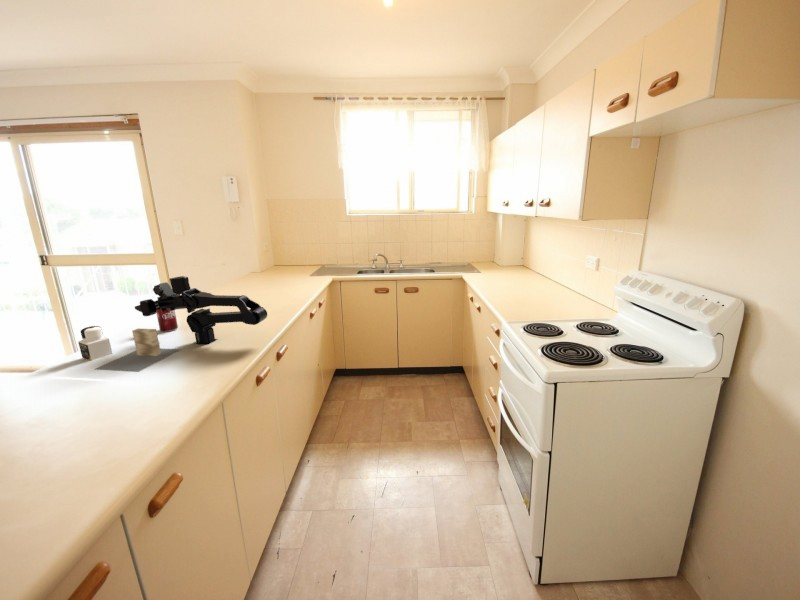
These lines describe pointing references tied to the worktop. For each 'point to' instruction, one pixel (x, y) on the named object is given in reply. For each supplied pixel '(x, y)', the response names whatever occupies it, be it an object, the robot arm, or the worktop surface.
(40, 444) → the worktop surface
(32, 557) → the worktop surface
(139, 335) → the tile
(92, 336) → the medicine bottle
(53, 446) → the worktop surface
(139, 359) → the mat
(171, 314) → the soda can
